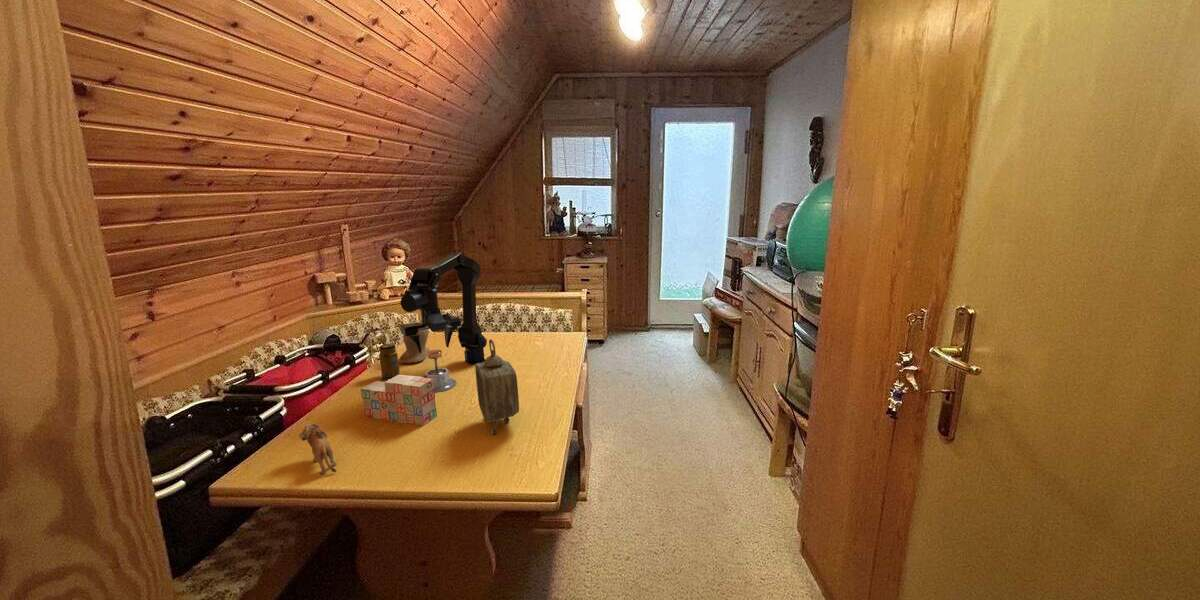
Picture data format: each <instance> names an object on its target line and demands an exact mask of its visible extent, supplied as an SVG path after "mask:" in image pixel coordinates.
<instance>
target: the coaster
mask: <svg viewBox="0 0 1200 600" xmlns="http://www.w3.org/2000/svg"><path fill="white" fill-rule="evenodd" d="M456 386H457V380H456V379H454V378H451V377H450V384H449V385H448V386H446V387H444V388H439V389H434V392H435V394H437V393H442V392H445V391H446V392H447V391H448V390H451V389H454V387H456Z"/></svg>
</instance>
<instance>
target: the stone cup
mask: <svg viewBox="0 0 1200 600" xmlns="http://www.w3.org/2000/svg"><path fill="white" fill-rule="evenodd" d="M410 323H413V324H415V325H421V324H422V323H421V321H412V322H408V323H407V324H410ZM429 333H430V331H429V329H425V330H420V331H418V333H417V334H418V335H419V341H420V345H421V353H419V351H418V349H417V347H416V345H415V344H414V342H413V340H412V339H411V338H409V337H408V336H405V335H403V334H402V337H403V343H404V345H405V349H406V350H405V351H404V352H403V353H402V354H401V356H400V357H398V362H399V363H404V364H406V363H407V364H412V363H419V362H422V361H423V360H425V358H426V357H428V352H429V351H431V349H429V348H428V347H426V345H427V341H428V337H429Z"/></svg>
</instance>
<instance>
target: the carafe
mask: <svg viewBox="0 0 1200 600" xmlns="http://www.w3.org/2000/svg"><path fill="white" fill-rule="evenodd" d="M438 370H443V371H444V373H443V374H440V375H430V372H432V371H435V368H432V369H428V370H427V371H425V373H424V374H423V375H421V376H419V377H424V378H431V379H433V384H434V389H439V388H444V387H446V386H448V385H449V384H450V378H451V377H450V370H449V369H448V368H446V367H438Z"/></svg>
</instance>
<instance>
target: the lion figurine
mask: <svg viewBox="0 0 1200 600" xmlns="http://www.w3.org/2000/svg"><path fill="white" fill-rule="evenodd" d="M327 436H328V435H327V434H326V432H325V431H324V430H323V428H322V427H320V426H319V425H318V424H316V423H307V424H306V425H304V429H303V430H302V432H301V433H300V434H298V438H299V439H300V440H301V441H302V442H304V441H307V443H308V444H309V446H310V448H311V452H312V454H313V457H314V458H313V459H312V462H313V461H316V462H318V465H319V466H320V467H319V468H320V469H321V471H320V475H325V474H327V470H326V467H325V465H324V461H325V464H326V465H327V467H328V469H330V470H331V472H334V473H336V472H337V469H336V468H334V467H333V466H336V465H337V461H335V460H334V455H333V449H332V446H331V445H330V442H329V441H328V437H327ZM328 459H329V460H328Z"/></svg>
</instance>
